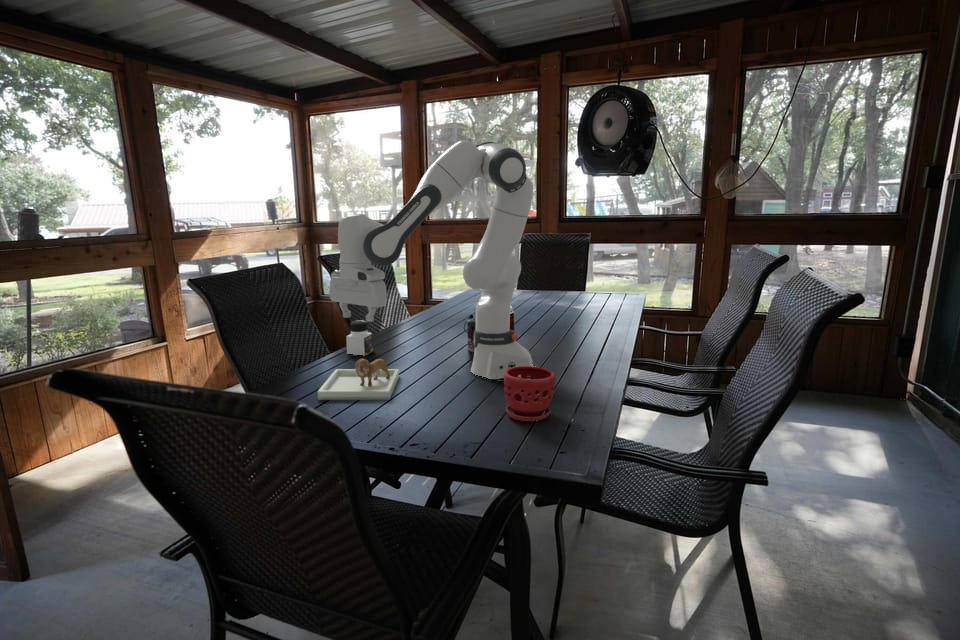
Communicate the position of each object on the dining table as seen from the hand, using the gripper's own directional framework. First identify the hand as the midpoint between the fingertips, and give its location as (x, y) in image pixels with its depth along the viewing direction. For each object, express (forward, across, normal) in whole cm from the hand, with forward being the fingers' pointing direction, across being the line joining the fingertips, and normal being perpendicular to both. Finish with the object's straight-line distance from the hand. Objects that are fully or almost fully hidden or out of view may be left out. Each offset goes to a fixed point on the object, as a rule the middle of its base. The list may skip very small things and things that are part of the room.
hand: (358, 319), depth 151 cm
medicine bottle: (+21, -28, +26) cm, 43 cm away
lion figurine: (+20, +2, +3) cm, 21 cm away
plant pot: (+22, +51, +10) cm, 57 cm away
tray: (+21, 0, 0) cm, 21 cm away
